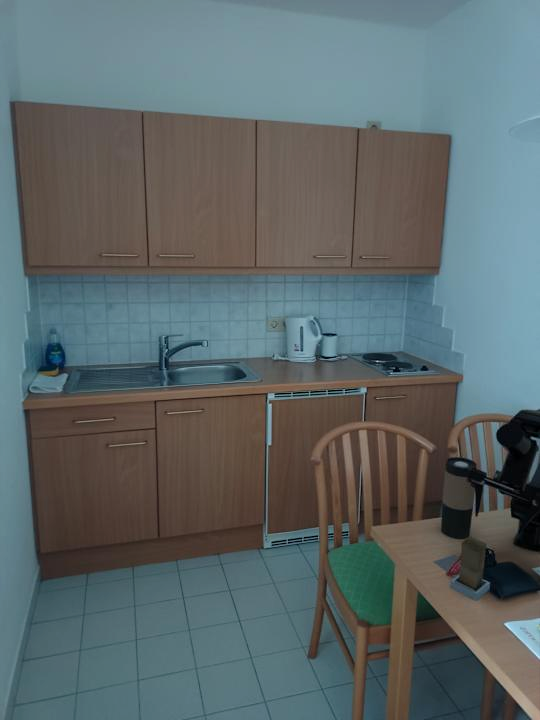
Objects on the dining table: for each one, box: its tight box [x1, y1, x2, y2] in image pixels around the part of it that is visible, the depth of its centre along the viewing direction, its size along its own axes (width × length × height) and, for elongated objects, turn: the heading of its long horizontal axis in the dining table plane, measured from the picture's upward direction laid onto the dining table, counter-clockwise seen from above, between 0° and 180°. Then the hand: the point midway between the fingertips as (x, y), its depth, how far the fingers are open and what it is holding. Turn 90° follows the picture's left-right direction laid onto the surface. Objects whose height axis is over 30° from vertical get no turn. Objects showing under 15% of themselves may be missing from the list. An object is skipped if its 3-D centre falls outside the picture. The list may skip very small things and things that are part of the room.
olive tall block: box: [459, 535, 487, 592], centre depth 114 cm, size 4×4×11 cm
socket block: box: [449, 575, 491, 602], centre depth 115 cm, size 6×6×2 cm
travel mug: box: [440, 456, 478, 540], centre depth 137 cm, size 8×8×20 cm
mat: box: [432, 554, 460, 578], centre depth 124 cm, size 7×7×1 cm
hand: (496, 525), depth 119 cm, fingers open, 9 cm apart
